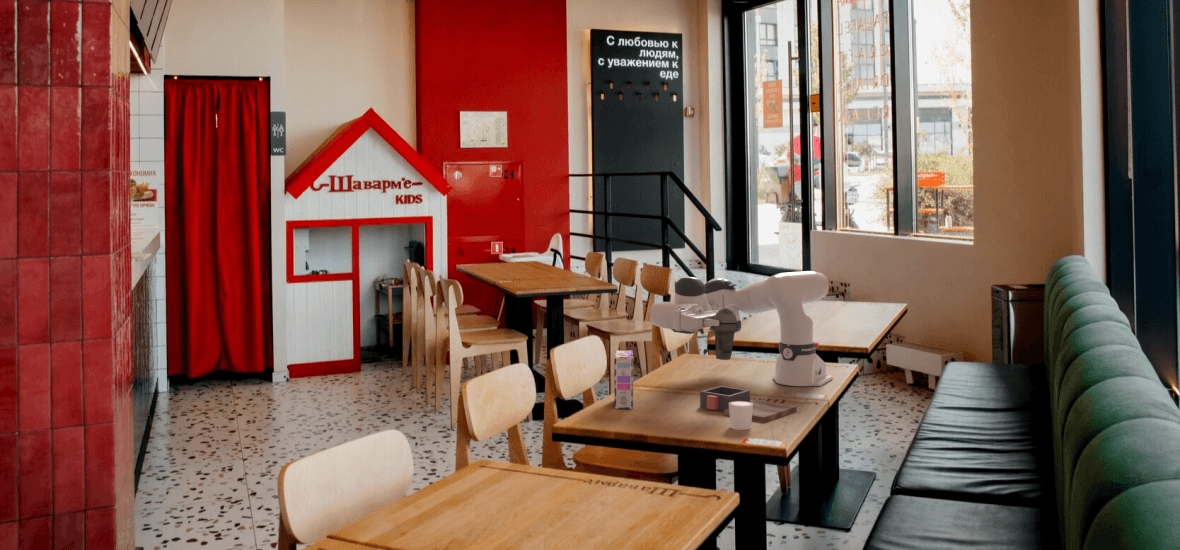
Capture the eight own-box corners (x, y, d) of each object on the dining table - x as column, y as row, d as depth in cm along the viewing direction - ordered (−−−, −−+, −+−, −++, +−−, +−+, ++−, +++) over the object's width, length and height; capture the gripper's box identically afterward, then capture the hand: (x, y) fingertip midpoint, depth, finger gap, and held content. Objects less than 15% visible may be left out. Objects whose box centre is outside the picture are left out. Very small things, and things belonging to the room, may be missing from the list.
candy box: (633, 409, 281) (632, 357, 279) (614, 409, 281) (613, 357, 280) (633, 399, 295) (633, 349, 293) (615, 399, 295) (615, 349, 294)
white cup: (740, 431, 253) (740, 407, 252) (723, 427, 258) (723, 402, 258) (758, 427, 257) (758, 403, 256) (740, 423, 262) (740, 399, 262)
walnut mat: (757, 404, 285) (757, 399, 285) (796, 411, 276) (796, 406, 276) (724, 414, 272) (724, 410, 272) (764, 422, 263) (764, 417, 263)
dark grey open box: (720, 401, 291) (720, 385, 290) (749, 406, 283) (749, 390, 283) (696, 408, 281) (696, 392, 281) (725, 413, 274) (725, 397, 273)
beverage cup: (734, 361, 278) (738, 297, 275) (710, 359, 279) (714, 295, 277) (735, 356, 285) (738, 293, 283) (712, 355, 286) (715, 292, 284)
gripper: (710, 324, 297) (746, 328, 288) (672, 331, 283) (708, 335, 273) (710, 304, 297) (746, 308, 287) (672, 311, 282) (708, 314, 273)
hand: (727, 321), depth 280 cm, fingers closed on beverage cup, 7 cm apart
